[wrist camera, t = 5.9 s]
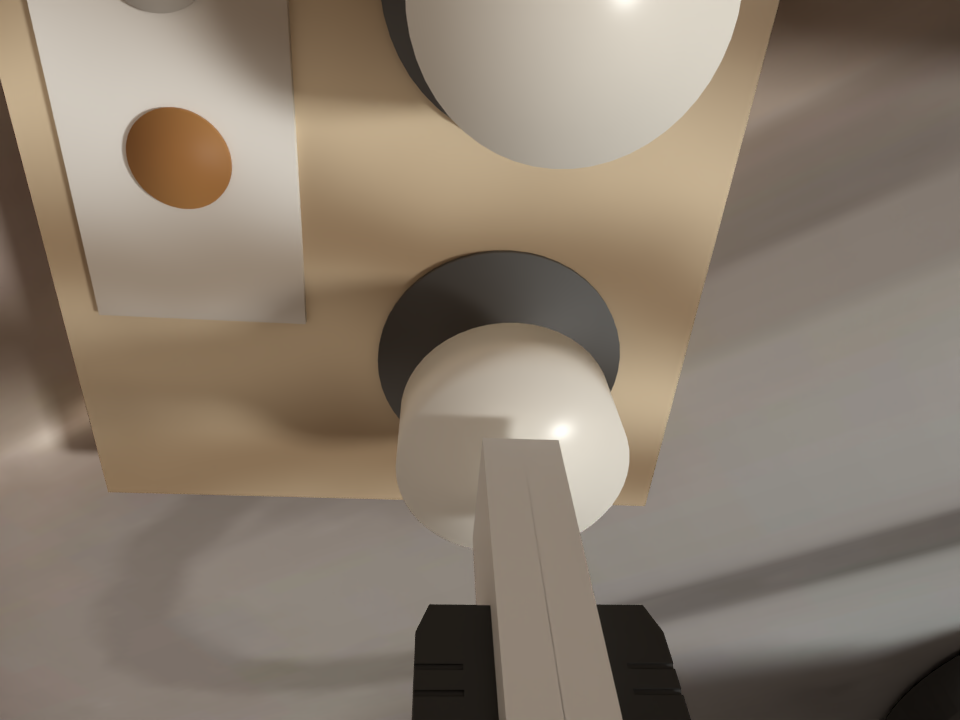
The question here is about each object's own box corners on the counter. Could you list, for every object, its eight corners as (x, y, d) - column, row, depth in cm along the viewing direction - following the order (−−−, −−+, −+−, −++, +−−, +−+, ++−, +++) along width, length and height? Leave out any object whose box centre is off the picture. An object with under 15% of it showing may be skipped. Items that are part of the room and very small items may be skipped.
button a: (592, 496, 18) (607, 554, 17) (398, 491, 18) (394, 550, 16) (628, 327, 16) (650, 376, 14) (402, 317, 15) (397, 366, 14)
